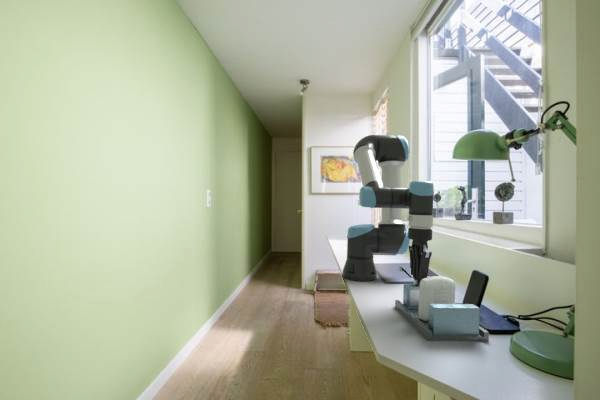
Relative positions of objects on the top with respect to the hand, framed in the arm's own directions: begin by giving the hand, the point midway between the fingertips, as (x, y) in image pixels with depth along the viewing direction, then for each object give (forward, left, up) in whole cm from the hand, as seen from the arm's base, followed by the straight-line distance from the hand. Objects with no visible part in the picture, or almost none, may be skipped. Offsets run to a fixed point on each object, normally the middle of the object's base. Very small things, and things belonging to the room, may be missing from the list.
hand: (417, 298), depth 106 cm
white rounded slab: (+13, 0, -2) cm, 13 cm away
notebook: (-47, +20, -3) cm, 51 cm away
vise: (+13, 0, -3) cm, 13 cm away
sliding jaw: (+4, 0, -2) cm, 4 cm away
